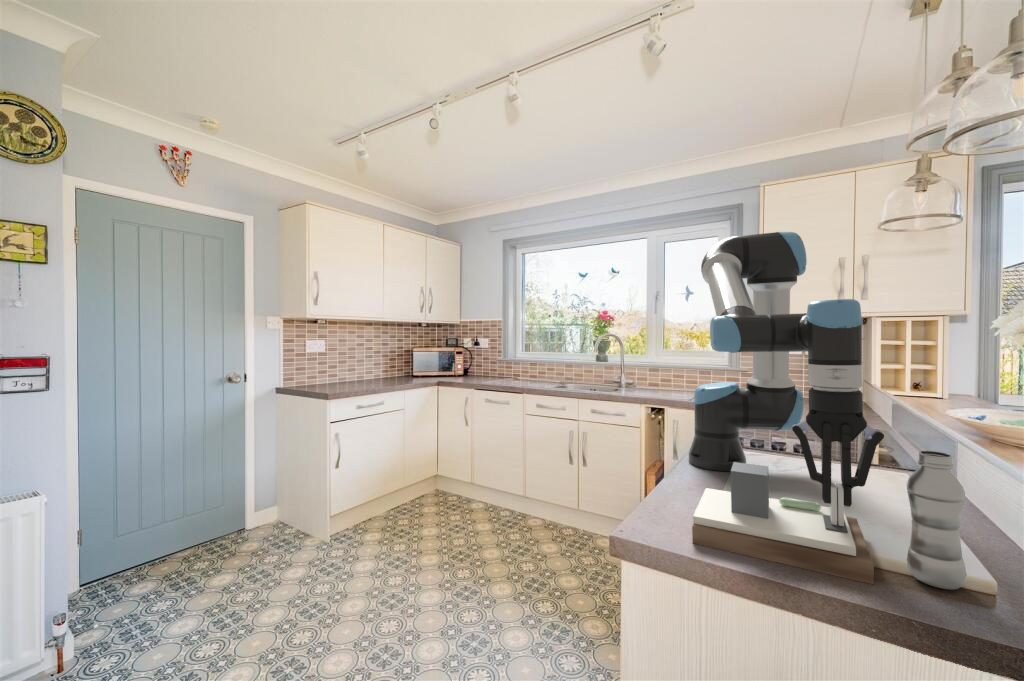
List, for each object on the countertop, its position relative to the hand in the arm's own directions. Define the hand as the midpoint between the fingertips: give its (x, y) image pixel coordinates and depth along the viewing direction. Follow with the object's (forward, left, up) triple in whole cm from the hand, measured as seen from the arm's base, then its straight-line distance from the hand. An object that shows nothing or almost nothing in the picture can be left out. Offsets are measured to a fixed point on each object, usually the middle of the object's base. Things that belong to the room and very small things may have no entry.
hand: (837, 522), depth 75 cm
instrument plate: (0, -10, -2) cm, 10 cm away
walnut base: (0, -9, -5) cm, 11 cm away
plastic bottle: (+4, +12, -6) cm, 14 cm away
